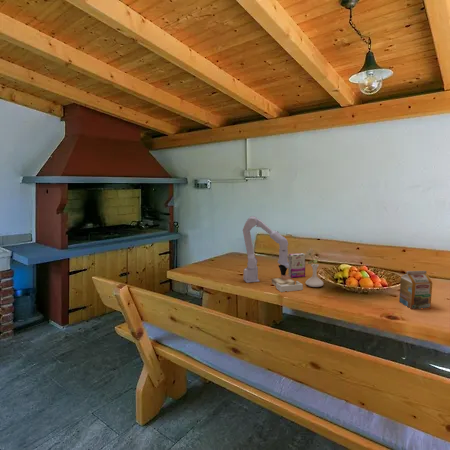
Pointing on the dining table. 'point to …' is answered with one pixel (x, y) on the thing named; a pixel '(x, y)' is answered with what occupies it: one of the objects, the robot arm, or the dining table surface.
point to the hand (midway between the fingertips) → (283, 275)
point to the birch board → (283, 281)
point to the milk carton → (416, 290)
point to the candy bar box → (296, 265)
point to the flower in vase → (314, 280)
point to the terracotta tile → (285, 277)
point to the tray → (290, 287)
